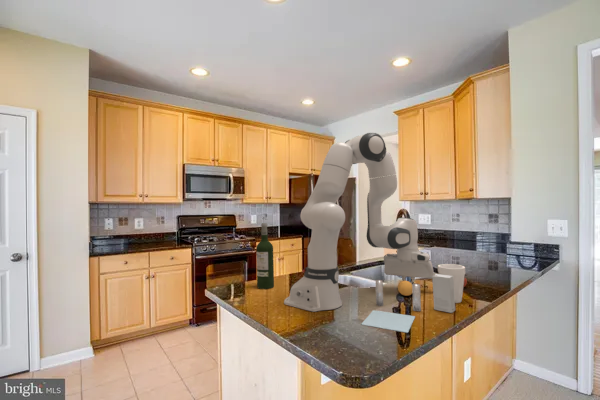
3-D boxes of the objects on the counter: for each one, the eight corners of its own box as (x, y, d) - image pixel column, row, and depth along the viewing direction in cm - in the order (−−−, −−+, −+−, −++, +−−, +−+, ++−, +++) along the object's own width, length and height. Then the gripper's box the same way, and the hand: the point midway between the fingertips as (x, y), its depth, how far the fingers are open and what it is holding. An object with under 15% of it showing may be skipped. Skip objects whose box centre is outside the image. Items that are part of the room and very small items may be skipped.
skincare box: (455, 310, 105) (454, 275, 106) (451, 313, 102) (450, 277, 102) (437, 306, 110) (436, 273, 110) (432, 309, 106) (431, 275, 107)
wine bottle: (254, 288, 140) (252, 223, 140) (261, 284, 147) (260, 222, 148) (269, 289, 137) (268, 223, 138) (276, 285, 144) (275, 222, 145)
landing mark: (361, 324, 95) (361, 324, 95) (373, 310, 107) (373, 310, 107) (407, 332, 88) (407, 332, 88) (415, 316, 100) (415, 316, 100)
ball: (396, 296, 122) (396, 281, 123) (399, 292, 128) (399, 278, 128) (412, 298, 120) (411, 283, 120) (414, 294, 125) (414, 279, 125)
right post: (412, 310, 106) (411, 284, 106) (413, 308, 108) (412, 283, 108) (420, 311, 105) (419, 285, 105) (421, 309, 107) (420, 283, 107)
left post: (375, 305, 112) (374, 281, 112) (377, 303, 115) (376, 279, 115) (382, 306, 111) (381, 281, 111) (384, 304, 113) (383, 280, 114)
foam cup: (469, 304, 111) (468, 269, 111) (442, 303, 112) (441, 268, 113) (461, 296, 120) (460, 264, 120) (436, 296, 122) (435, 263, 122)
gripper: (381, 254, 134) (382, 285, 133) (432, 257, 124) (433, 291, 124) (385, 252, 139) (386, 282, 139) (433, 255, 129) (434, 287, 129)
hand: (408, 286), depth 131 cm, fingers closed
